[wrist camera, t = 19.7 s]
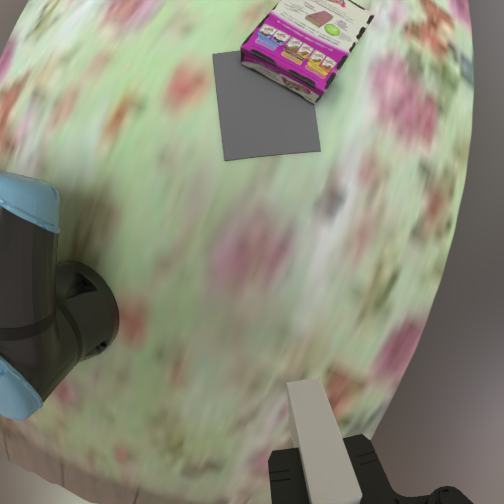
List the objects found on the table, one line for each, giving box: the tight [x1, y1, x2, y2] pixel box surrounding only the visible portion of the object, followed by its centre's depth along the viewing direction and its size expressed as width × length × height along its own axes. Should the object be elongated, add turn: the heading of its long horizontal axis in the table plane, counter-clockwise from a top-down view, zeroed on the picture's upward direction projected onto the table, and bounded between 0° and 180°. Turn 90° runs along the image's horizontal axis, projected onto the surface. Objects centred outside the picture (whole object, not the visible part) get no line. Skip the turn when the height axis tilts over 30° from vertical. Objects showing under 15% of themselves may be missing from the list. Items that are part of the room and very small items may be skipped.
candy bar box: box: [240, 0, 375, 104], centre depth 30 cm, size 11×5×16 cm
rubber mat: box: [213, 50, 321, 161], centre depth 35 cm, size 12×15×1 cm
